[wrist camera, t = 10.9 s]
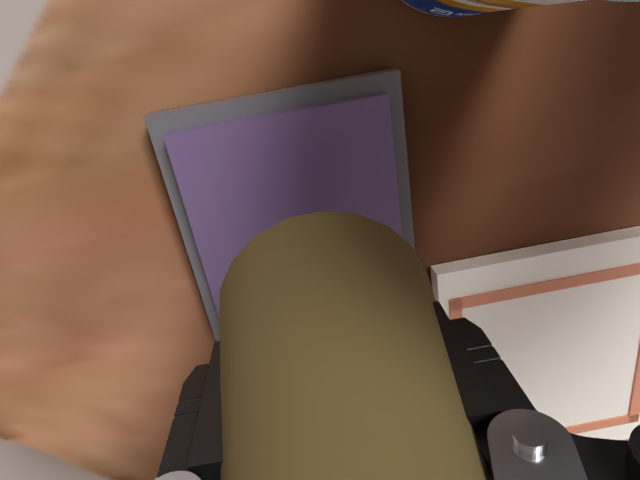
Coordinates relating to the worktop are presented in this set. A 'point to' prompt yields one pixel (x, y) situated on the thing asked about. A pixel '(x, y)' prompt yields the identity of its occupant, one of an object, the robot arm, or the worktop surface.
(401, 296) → the olive rounded piece
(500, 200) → the worktop surface
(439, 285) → the marked board
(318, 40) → the worktop surface
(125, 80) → the worktop surface
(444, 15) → the beverage bottle
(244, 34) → the worktop surface
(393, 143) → the ink pad
